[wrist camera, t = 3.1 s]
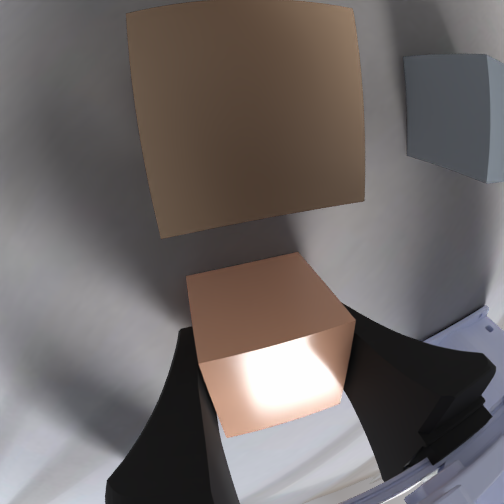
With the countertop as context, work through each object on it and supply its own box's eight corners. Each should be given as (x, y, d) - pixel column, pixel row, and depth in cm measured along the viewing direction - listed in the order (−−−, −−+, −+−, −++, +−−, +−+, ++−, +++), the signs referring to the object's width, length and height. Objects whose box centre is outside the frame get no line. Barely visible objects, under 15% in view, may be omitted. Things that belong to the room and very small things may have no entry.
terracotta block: (298, 251, 12) (355, 320, 8) (299, 333, 14) (340, 403, 10) (185, 276, 11) (198, 363, 7) (208, 356, 13) (226, 437, 9)
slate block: (460, 72, 10) (531, 81, 6) (461, 154, 12) (529, 178, 8) (401, 56, 9) (486, 54, 5) (405, 155, 11) (486, 183, 7)
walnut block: (281, 44, 8) (352, 8, 4) (292, 165, 10) (364, 201, 6) (146, 57, 7) (126, 13, 4) (165, 186, 10) (160, 239, 6)
